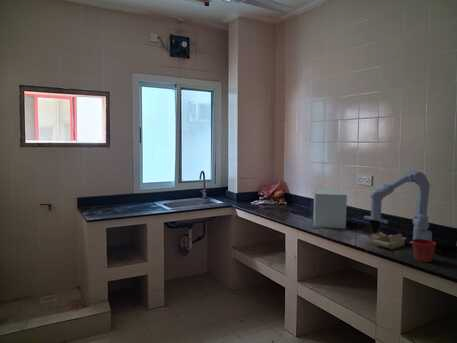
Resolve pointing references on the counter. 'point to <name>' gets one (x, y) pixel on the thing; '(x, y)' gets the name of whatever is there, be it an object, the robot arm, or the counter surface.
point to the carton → (388, 242)
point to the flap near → (396, 238)
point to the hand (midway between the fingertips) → (375, 232)
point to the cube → (330, 208)
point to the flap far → (378, 235)
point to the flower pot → (423, 249)
